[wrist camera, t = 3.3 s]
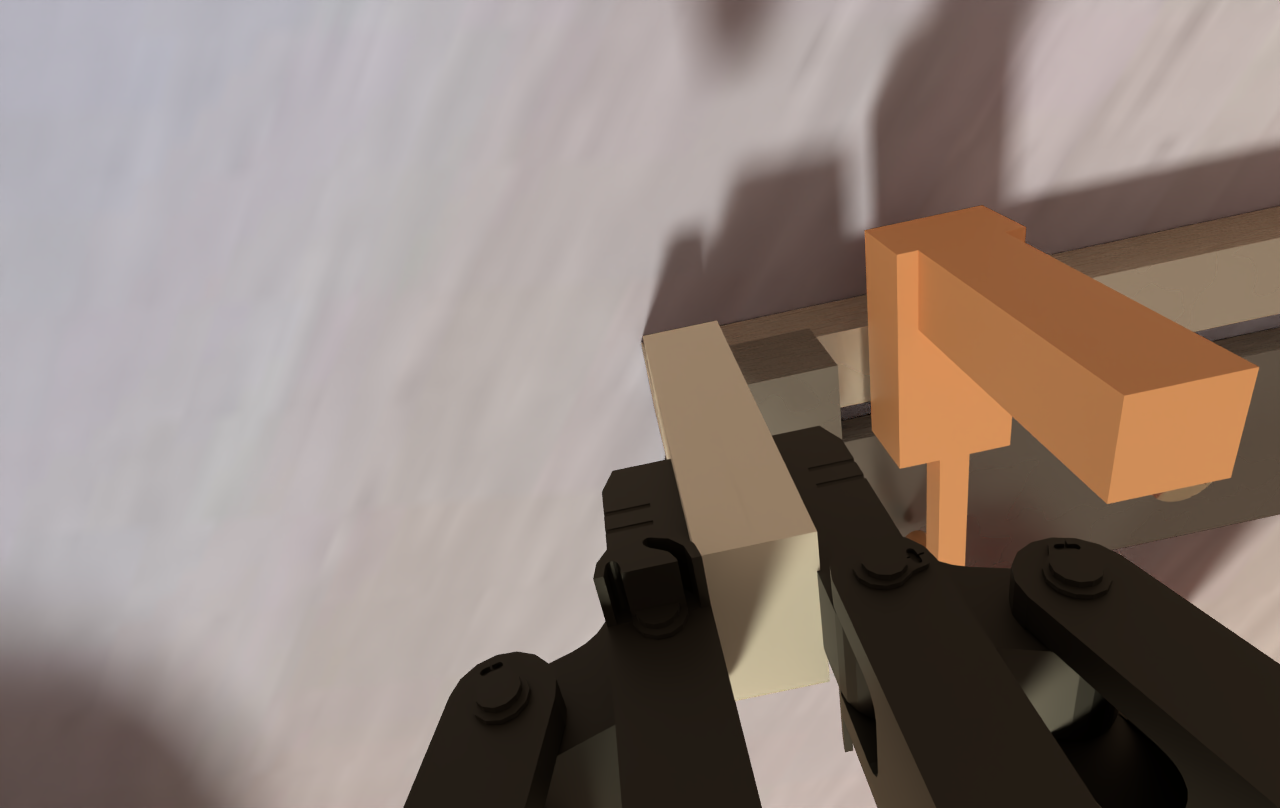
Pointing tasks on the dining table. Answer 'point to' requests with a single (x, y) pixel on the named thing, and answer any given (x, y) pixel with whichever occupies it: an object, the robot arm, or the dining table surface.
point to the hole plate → (1064, 505)
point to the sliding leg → (1034, 369)
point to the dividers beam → (1136, 267)
